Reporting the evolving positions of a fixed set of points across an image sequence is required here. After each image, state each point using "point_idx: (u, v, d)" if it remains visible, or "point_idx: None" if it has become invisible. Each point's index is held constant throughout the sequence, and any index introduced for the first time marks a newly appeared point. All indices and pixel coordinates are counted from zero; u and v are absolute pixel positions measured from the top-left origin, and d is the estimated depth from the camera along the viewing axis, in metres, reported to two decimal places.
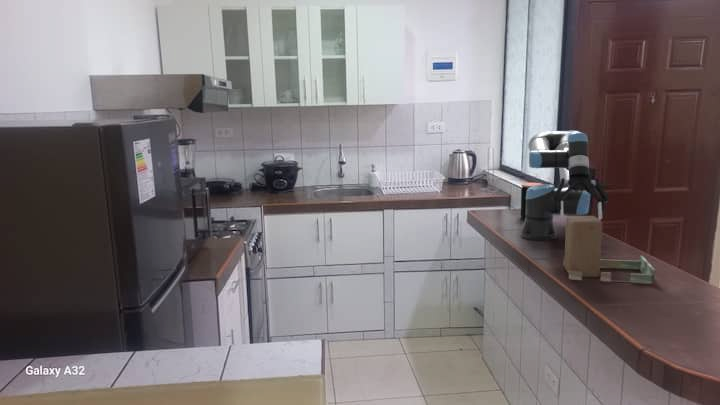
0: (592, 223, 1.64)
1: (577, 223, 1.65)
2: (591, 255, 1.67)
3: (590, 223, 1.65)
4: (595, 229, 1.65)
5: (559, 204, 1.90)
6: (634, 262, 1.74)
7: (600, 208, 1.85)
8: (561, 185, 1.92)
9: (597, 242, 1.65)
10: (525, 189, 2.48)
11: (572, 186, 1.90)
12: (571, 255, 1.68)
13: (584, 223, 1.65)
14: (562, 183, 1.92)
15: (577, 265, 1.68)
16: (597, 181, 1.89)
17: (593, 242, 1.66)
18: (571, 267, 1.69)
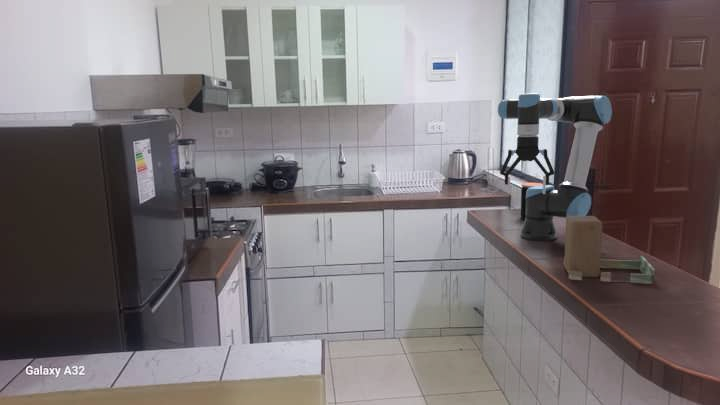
0: (592, 223, 1.64)
1: (577, 223, 1.65)
2: (591, 255, 1.67)
3: (590, 223, 1.65)
4: (595, 229, 1.65)
5: (506, 179, 1.85)
6: (634, 262, 1.74)
7: (544, 183, 1.81)
8: (508, 158, 1.82)
9: (597, 242, 1.65)
10: (525, 189, 2.48)
11: (519, 159, 1.81)
12: (571, 255, 1.68)
13: (584, 223, 1.65)
14: (509, 156, 1.82)
15: (577, 265, 1.68)
16: (545, 152, 1.79)
17: (593, 242, 1.66)
18: (571, 267, 1.69)
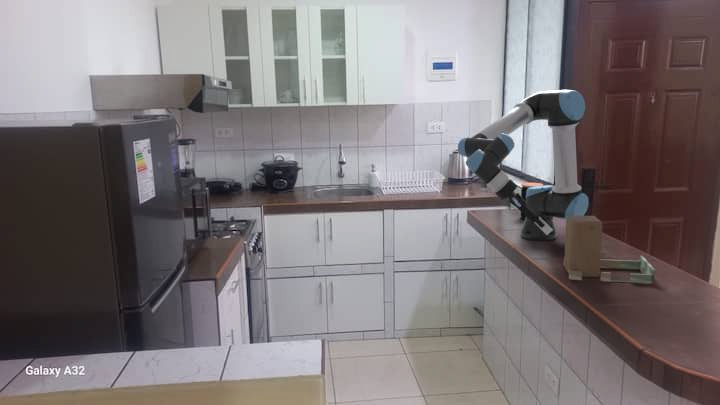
0: (592, 223, 1.64)
1: (577, 223, 1.65)
2: (591, 255, 1.67)
3: (590, 223, 1.65)
4: (595, 229, 1.65)
5: None
6: (634, 262, 1.74)
7: None
8: None
9: (597, 242, 1.65)
10: (525, 189, 2.48)
11: None
12: (571, 255, 1.68)
13: (584, 223, 1.65)
14: None
15: (577, 265, 1.68)
16: (516, 206, 1.69)
17: (593, 242, 1.66)
18: (571, 267, 1.69)
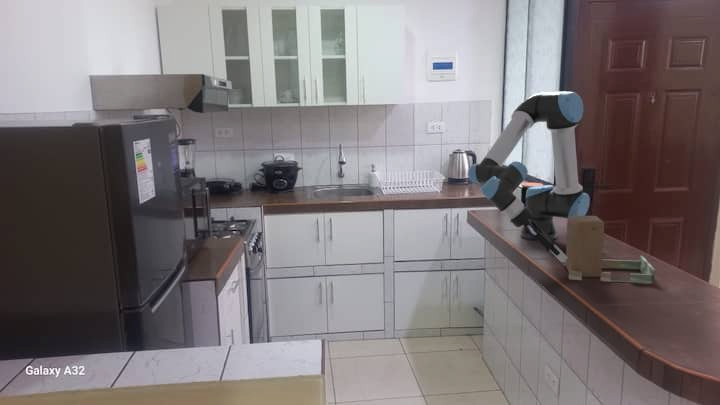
0: (594, 223, 1.64)
1: (579, 223, 1.65)
2: (592, 255, 1.66)
3: (592, 223, 1.64)
4: (597, 229, 1.64)
5: None
6: (634, 262, 1.74)
7: None
8: None
9: (599, 242, 1.65)
10: (525, 189, 2.48)
11: None
12: (573, 255, 1.68)
13: (586, 223, 1.65)
14: None
15: (578, 265, 1.68)
16: None
17: (595, 242, 1.65)
18: (573, 267, 1.69)
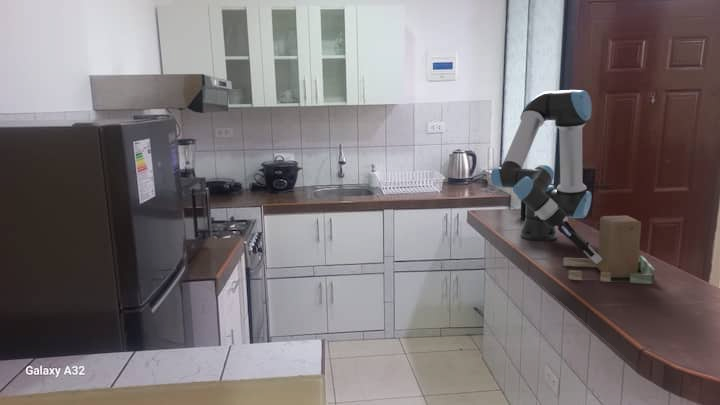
0: (631, 223, 1.62)
1: (617, 223, 1.63)
2: (630, 255, 1.64)
3: (630, 223, 1.62)
4: (634, 229, 1.62)
5: None
6: None
7: None
8: None
9: (636, 242, 1.63)
10: None
11: None
12: (610, 256, 1.65)
13: (624, 223, 1.62)
14: None
15: (616, 266, 1.65)
16: (566, 235, 1.66)
17: (632, 242, 1.63)
18: (610, 268, 1.66)
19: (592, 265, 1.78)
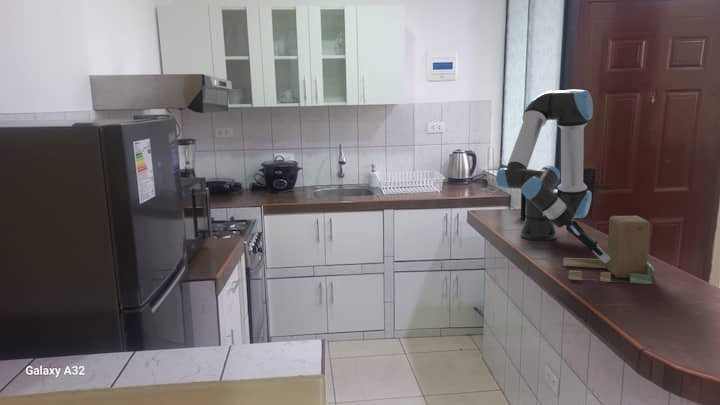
0: (640, 223, 1.62)
1: (625, 223, 1.62)
2: (638, 255, 1.64)
3: (638, 223, 1.62)
4: (643, 229, 1.62)
5: None
6: None
7: None
8: None
9: (645, 242, 1.63)
10: None
11: None
12: (618, 256, 1.65)
13: (632, 223, 1.62)
14: None
15: (624, 266, 1.65)
16: (574, 235, 1.66)
17: (641, 242, 1.63)
18: (618, 268, 1.66)
19: (592, 265, 1.78)
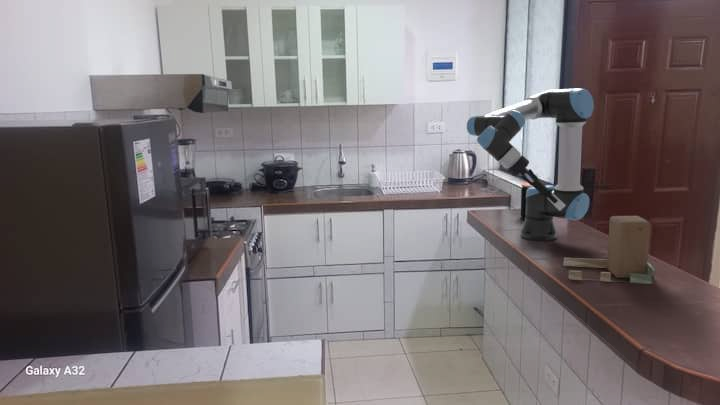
0: (640, 223, 1.62)
1: (625, 223, 1.62)
2: (638, 255, 1.64)
3: (638, 223, 1.62)
4: (643, 229, 1.62)
5: None
6: None
7: None
8: None
9: (645, 242, 1.62)
10: (525, 189, 2.48)
11: None
12: (618, 256, 1.65)
13: (632, 223, 1.62)
14: None
15: (624, 266, 1.65)
16: (528, 182, 1.68)
17: (641, 242, 1.63)
18: (618, 268, 1.66)
19: (592, 265, 1.78)
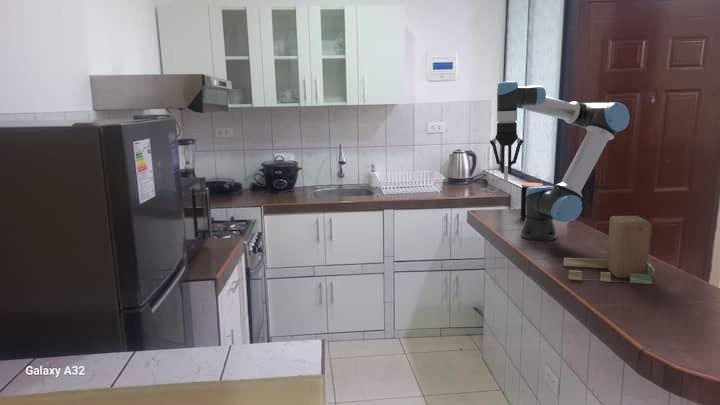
0: (640, 223, 1.62)
1: (625, 223, 1.62)
2: (638, 255, 1.64)
3: (638, 223, 1.62)
4: (643, 229, 1.62)
5: None
6: None
7: None
8: None
9: (645, 242, 1.62)
10: (525, 189, 2.48)
11: None
12: (618, 256, 1.65)
13: (632, 223, 1.62)
14: None
15: (624, 266, 1.65)
16: None
17: (641, 242, 1.63)
18: (618, 268, 1.66)
19: (592, 265, 1.78)
